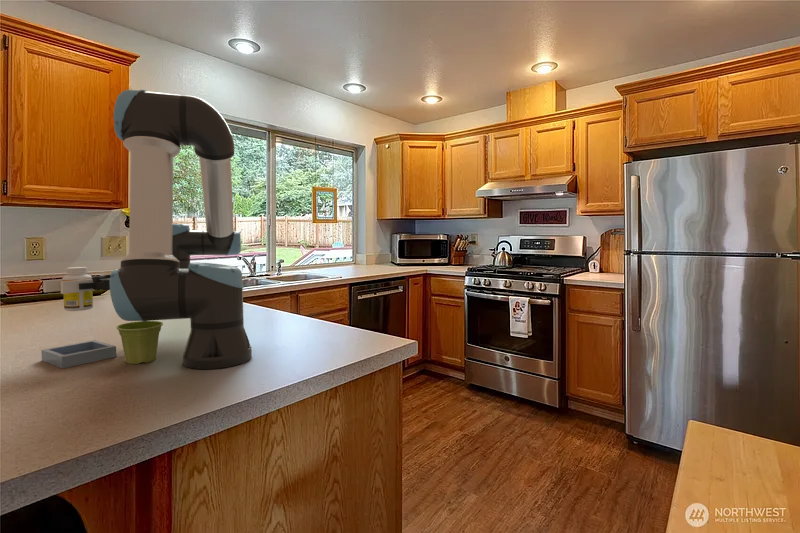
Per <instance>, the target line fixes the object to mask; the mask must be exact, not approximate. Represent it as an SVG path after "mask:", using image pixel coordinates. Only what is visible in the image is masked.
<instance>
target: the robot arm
mask: <svg viewBox="0 0 800 533" xmlns="http://www.w3.org/2000/svg"><path fill="white" fill-rule="evenodd" d="M113 121H114V124H113V128H114V132H115V135H116V137H117V138H118V139H119V140H120V141H122V143H123V147H124V148H125V149H126V151H128V152H130V175H129V176H130V181H129V183H130V184H129V186H130V187H129V189H130V190H129V191H130V192H129V237H128V238H129V239H128V241H129V242H128V250H129V251H128V254H127V255H126V256H124V257H123V258H122V259H120V268H116V269H113V270H112V271H111V272H110V274H104V275H96V276H95V275H93V276H92V275H91V277H92V279H88V280H76V281H63V278H61V279H60V278H59V279H49V280H48V279H47V280H43V281H42V285H43V286H42V287H43V293H52V292H53V293H54V292H60V294H62V295H63V294H66V293H75V292H85V291H92V292H93V291H104V292H105V291H109V294H110V299H111V302H112V306H113V308H114V311H115V313H116V314H117V316H118V318H120V319H122V320H123V321H126V322H139V321H143V322H145V321H166V320H184V319H189V321H190V331H189V335H188V338H187V341H186V344H185V348H184V351H183V353H182V362H183V363H182V365H183V366H184V367H187V368H190V369H196V370H214V369H224V368H228V367H234V366H237V365H241V364H244V363H246V362H248V361H250V360H252V357H253V356H252V354H253V350H252V346H251V343H250V340H249V338H248V335H247V332H246V330H245V325H244V324H245V322H244V321H245V320H244V292H243V291H244V290H243V289H244V288H245V287H244V283H243V273H242V271H241V269H240V268H238V267H237V266H234V265H227V264H220V263H213V262H212V263H211V262H200V261H199V262H196V261H195V262H194V261H193V262H191V256H235V255H236V256H237V255H239V254H241V250H242V248H241V247H242V245H241V244H242V240H241V238H242V237H241V232H240V231H238V230H234V229H235V228H234V209H233V208H234V207H233V186H232V185H233V184H232V165H231V164H232V162H231V160H232V158H233V157H234V156H235V141H234V137H233V134H232V130H230V128H229V125H228V123H227V122H226V120H225V119H224V117H223V116H222V114H221V113H220V112H219V111H218V110H217V109H216V108H215V106H213V105H212V104H210V103H209V102H208V101H206V100H204V99H203V98H200V97H197V96H193V95H184V94H183V95H182V94H175V93H166V92H158V91H157V92H155V91H148V90H146V89H139V90H136V89H135V90H134V89H125V90H123V91H122V92H120V93H119V94H118V96H117V98H116V101H115V103H114V110H113ZM181 146H193V148H194V154H195V155H196V156H197V157H198V158H199V166H200V167H199V168H200V175H201V186H202V195H203V206H204V215H205V216H204V217H205V218H204V219H205V225H206V226H205V228H206V230H194V229H193V230H192V229H190V225H189V224H186V223H185V224H184V223H181V224H180V223H173V221H174V220H173V218H174V216H173V214H174V212H173V211H174V210H173V209H174V204H173V202H174V201H173V200H174V196H173V195H174V194H173V193H174V186H173V185H174V158H175V157H177V156H178V155H179V154H180V153H181Z"/></svg>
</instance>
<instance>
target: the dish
mask: <svg viewBox="0 0 800 533" xmlns="http://www.w3.org/2000/svg"><path fill="white" fill-rule="evenodd" d="M116 357H117V346H116V345H114V344H109V343H106V342H103V341H98V340H95V339H94V340H88V341H83V342H78V343H77V342H76V343H72V344H67V345H61V346H56V347H50V348H44V349H41V361H42V362H45V363H47V364H49V365H53V366H54V367H57V368H60V369H65V368H71V367H76V366H79V365H84V364H88V363H93V362H97V361H102V360H108V359H111V358H116Z"/></svg>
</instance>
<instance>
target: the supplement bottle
mask: <svg viewBox="0 0 800 533" xmlns="http://www.w3.org/2000/svg"><path fill="white" fill-rule="evenodd" d="M65 270H66V271H65V272H66V275H64V276H63V277H62V279H63V281H76V280H88V279H92V275H91V274H88V266H73V267H72V266H71V267H66V269H65ZM62 295H63V309H64V311H66V312H78V311H79V312H81V311H87V310H88V311H89V310H91V309H93V307H94V300H93V299H94V298H93V291H85V292H75V293H66V294H62Z"/></svg>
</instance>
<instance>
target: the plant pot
mask: <svg viewBox="0 0 800 533" xmlns="http://www.w3.org/2000/svg"><path fill="white" fill-rule="evenodd" d="M162 326H164V323H163V321H160V320H151V321H145V322H143V321H130V322H125V323H122V324H119V325H117V326H116V330H118V335H120V338H121V342H122V349H123V355H124V358H125V362H126V363H127V364H131V365H132V364H133V365H138V364H140V363H150V362H153V361H154V360H156V359H157V353H158V352H157V350H158V344H159V337H160V332H161V329H162Z"/></svg>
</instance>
